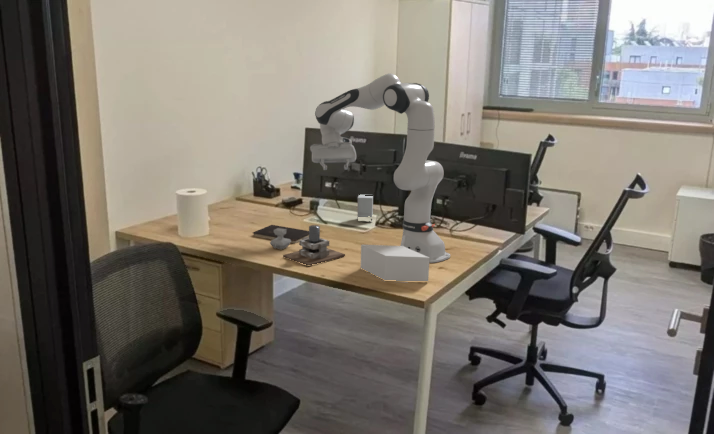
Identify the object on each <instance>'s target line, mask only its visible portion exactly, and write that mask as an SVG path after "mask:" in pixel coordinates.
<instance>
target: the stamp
mask: <svg viewBox="0 0 714 434" xmlns="http://www.w3.org/2000/svg"><path fill="white" fill-rule="evenodd" d="M274 233H275V235H277V236H278V238H275V239H273V240H272V239H270V242H269V244H270V246H271V247H272V248H273V249H276V248H277V249H278V250H284V249H286V248H288V247H289V245H290V244H292V243H291V240H290V239H287V238H284V237H283V236H284V235H285V234H286V229H281V228H277V229H275V230H274ZM277 249H276V250H277Z"/></svg>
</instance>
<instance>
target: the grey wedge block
mask: <svg viewBox="0 0 714 434" xmlns="http://www.w3.org/2000/svg"><path fill="white" fill-rule="evenodd" d="M361 268H362V269H364V270H366V271H368V272H370V273H372V274H374V275H376V276H378V277H380V278H382V279H384V280H396V281H428V282H429V272H430V263H429V257H427V256H425V255H422V254H420V253H418V252H415V251H413V250H411V249H408V248H406V247H404V246H400V245H385V244H380V245H379V244H361V246H360V269H361ZM362 269H361V270H362Z"/></svg>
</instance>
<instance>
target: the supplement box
mask: <svg viewBox="0 0 714 434" xmlns="http://www.w3.org/2000/svg"><path fill="white" fill-rule="evenodd" d="M365 195H366V194H360V195H359V194H358V196H357V218H358V217H368V216H370V217H372V215H373V212H374V208H373V207H374V195H373V196H365Z"/></svg>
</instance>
